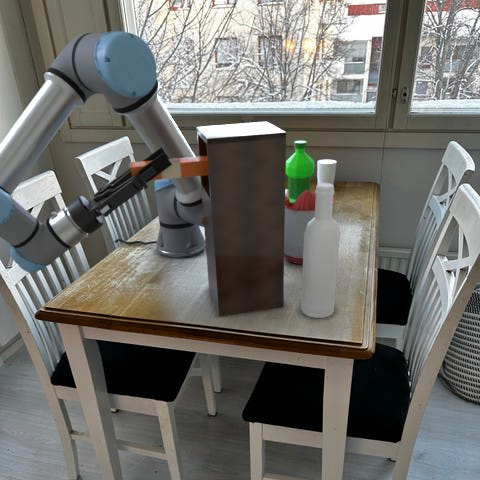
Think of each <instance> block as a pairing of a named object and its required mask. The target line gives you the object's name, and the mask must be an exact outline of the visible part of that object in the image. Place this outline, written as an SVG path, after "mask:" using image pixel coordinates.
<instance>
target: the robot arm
mask: <svg viewBox="0 0 480 480" xmlns="http://www.w3.org/2000/svg"><path fill="white" fill-rule="evenodd" d="M157 68H158V63H157V60H156V57H155V54H154V52H153V50H152V48H151V47H150V46H149V44H148V43H147V42H146V41H145V40H144V39H143V38H141V37H140V36H138V35H137V34H134V33H132V32H127V31H122V30H110V31H107V32H86V33H81V34H79V35H77V36H76V37H74V38H73V39H72V40H71V41H69V43H68V44H66V46H65V47H64V48H63V49H62V50H61V51H60V53H58V55H57V56H56V58H55V59H54V60H53V62H52V63H51V64H50V65H49V67H48V68H47V70H46V71H45V73H44V74H43V78H44V83H43V84H42V86H41V87H40V88H39V90H37V92H36V94H35V95H34V96H33V98H32V99H31V101H30V102H29V103H28V104H27V106H26V107H25V109H24V110H23V111H22V112H21V114H20V115H19V117H18V118H17V119H16V121H15V122H14V124H13V125H12V126H11V128H10V129H9V130H8V132H7V133H6V134H5V135H4V137H3V139H2V140H1V141H0V238H1V239H2V240H4V241H6V242H7V243H8V244H9V245H10V248H9V254H10V257H11V258H12V260H13V262H15V263H16V264H17V265H18V266H19V268H20V269H21V270H23V271H25V272H27V273H29V274H35V273H38V272H39V271H41V270H43V269H44V268H47V267H49V266H50V265H51V264H52V263H53V262H54V261H56V260H57V259H58V258H60V257H61V256H62V255H64V254H65V253H66V252H68V251H69V250H71V249H72V248H73V247H75V246H77V245H78V244H80V243H81V242H83V241H84V240H85V239H87V238H88V237H89V235H92V234H93V233H95V232H96V231H97V230H99V229H100V228H102V227H103V225H104V220H103V217H104V218H107V217H109V216H110V214H111V213H113V212H115V210H116V209H118V208H119V207H121V206H122V205H124V204H125V203H126V202H128V201H129V200H130V199H132V198H133V197H134V196H136V195H137V194H138V193H140V192H141V191H143V190H147V189H148V188H149V186H148V183H149V182H150V181H152V180H151V179H153V178H154V177H156V176H157V175H158V174H160V173H161V172H162V171H164V170H165V169H167V168H168V167H169V166H171V165H172V163H171V162H170V161H169V159H174V158H187V157H196V155H195V153H194V152H193V150H192V149H191V146H190V145H189V143H188V142H187V140H186V139H185V137H184V135H183V134H182V132H181V130H180V129H179V127H178V125H177V124H176V122H175V121H174V119H173V118H172V115H171V114H170V112H169V111H168V109H167V107H166V105H165V104H164V102H163V100H162V99H161V97H160V96H159V89H160V82H159V80H158V79H157V78H158V72H157ZM98 94H100V95H103V97H104V98H105V100H106V101H107V102H108V104H109V105H110V106H111V108H112V109H113V111H114V112H115V113H116V114H117V115H120V116H126V117H127V119H128V120H129V122H130V123H131V125H132V126H133V128H134V129H135V130H136V132H137V133H138V135H139V136H140V138H141V139H142V140H143V142H144V144H145V145H146V147H147V148H148V149H149V151H150V152H151V153H152V154H150V155H149V156H147V157H146V158H145V159H143V160H142V161H151V160H153V161H151V162H150V163H148V164H147V165H146V166H144V167H143V168H142V169H140V170H139V171H138V173H139V174H140V175H139V174H135V175H134V176H133V177H132V174H131V167H130V166H129V167H128V169H126V170H125V171H123V172H122V173H121V174H119V175H118V176H116V177H115V178H114V179H112V180H110V182H108V183H107V184H105V185H104V186H102V187H100V188H99V189H98V190H97V191H96V192H95V193H94V194H93V198H92V199H91V200H88V199H87V198H86V197H84V196H83V195H78V196H77V197H75V198H74V199H73V200H72V201H70V202H68V203H67V207H65V206H64V207H62V208H61V209H60V210H58V211H57V212H56V211H52V212H51V213H50V215H51V216H50V217H48V218H47V219H46V220H43V222H41V221H40V220H39V219H38V218H36V217H35V216H34V215H33V214H31V212H29V211H28V210H27V209H26V208H24V206H22V205H21V204H20V202H19V203H18V202H17V201H16V199H14V197H12V196H13V195H12V194H13V193H14V192H15V190H16V189H17V188H18V186H19V185H20V184H21V182H23V179H24V178H25V177H26V175H27V174H28V172H29V171H30V170H31V168H32V167H33V166H34V164H35V163H36V162H37V161H38V159H40V157H41V155H42V153H43V152H44V151H45V150H46V149H47V147H48V145H49V144H50V143H51V141H52V139H53V138H54V137H55V136H56V134H57V133H58V132H59V131H60V130H61V128H62V126H63V125H64V124H65V122H66V121H67V119H68V118H70V115H72V113H73V111H74V110H75V109H77V108H83V106H84V105H85V103H87V101H88V100H89V99H90V98H91V97H93V96H94V95H98ZM154 193H155V194H154V195H155V200H156V209H157V215H158V223H159V229H158V234H157V238H156V240H153V241H142V240H134V241H127V240H124V239H122V238H117V239H115V240H114V243H115V244H117V243H118V242H121V243H123V244H125V245H136V244H141V245H144V246H145V245H153V244H156V252H157V253H158V254H159V255H160V256H163V257H166V258H170V259H171V258H172V259H179V258H181V259H182V258H188V257H192V256H193V257H194V256H196V255H198V254H201V253H202V252H203V251H205V250H206V243H205V236H204V234H203V232H202V230H201V227H202V228H204V225H202V224H201V219H200V218H201V217H203V204H202V192H201V179H200V176H193V177H183V178H173V179H161V180H154ZM102 216H103V217H102Z"/></svg>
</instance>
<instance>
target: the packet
mask: <svg viewBox="0 0 480 480" xmlns="http://www.w3.org/2000/svg"><path fill="white" fill-rule="evenodd" d="M151 161H153V160H151ZM151 161H143V160H141V161H131V162H129V168H130V167H131V174H132V177H133V176H134V175H135V174H139V173H138V171H139V170H140V169H142V168H143V167H144V166H146V165H147V164H148V163H150V162H151ZM169 161H170V162H171V163H172V165H171V166H169V167H168V168H167V169H165V170H164V171H162V172H161V173H160V174H158V175H157V176H156V177H154V178H153V179H151V180H150V181H155V180H161V179H173V178H183V177H193V176H204V175H209V173H208V159H207V156H199V155H198V156H195V157H187V158H174V159H169ZM139 175H140V174H139Z"/></svg>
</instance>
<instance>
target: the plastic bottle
mask: <svg viewBox="0 0 480 480" xmlns="http://www.w3.org/2000/svg"><path fill="white" fill-rule="evenodd" d="M307 146H308V142H307V141H306V140H295V141H294V142H293V149H294V151H295V152H294V153H292V155H290V157H289V158H288V159H286V177H287V189H288V190H289V199H290V202H292V203H293V202H295V201H296V199H297V198H298V197H299V196H300V195H301V194H302V193H303V192H304V191H305V190H308V191H310V192H311V176H312V175H313V174H314V172H315V167H316V163H315V161H314V159H313V158H312V157H311V156H310V155H309V154H308V153H306V148H307Z"/></svg>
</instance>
